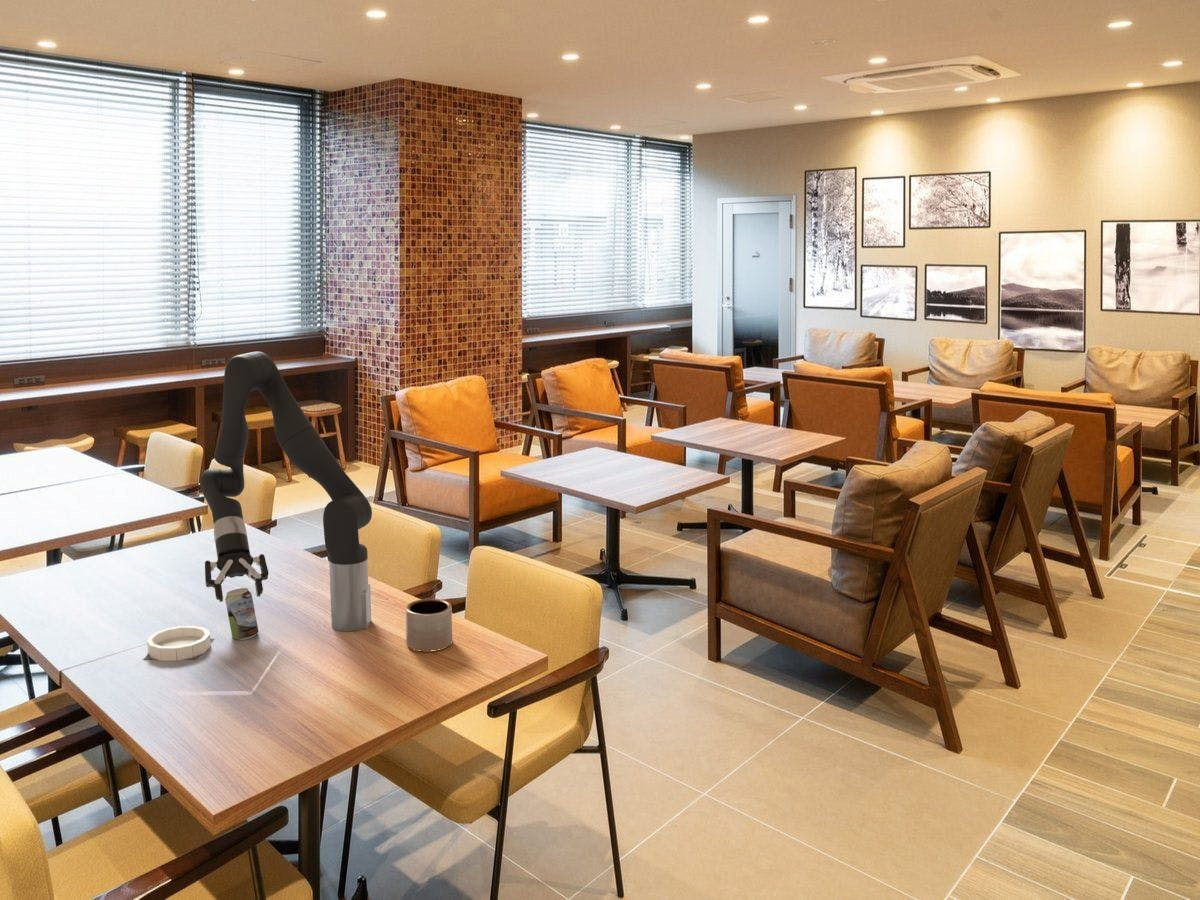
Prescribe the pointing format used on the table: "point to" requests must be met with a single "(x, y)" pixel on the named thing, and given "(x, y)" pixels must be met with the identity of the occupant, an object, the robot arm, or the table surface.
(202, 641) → the bowl
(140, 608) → the table surface
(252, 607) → the beverage can
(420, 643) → the planter
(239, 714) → the table surface
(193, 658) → the mat
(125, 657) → the table surface
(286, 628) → the table surface
